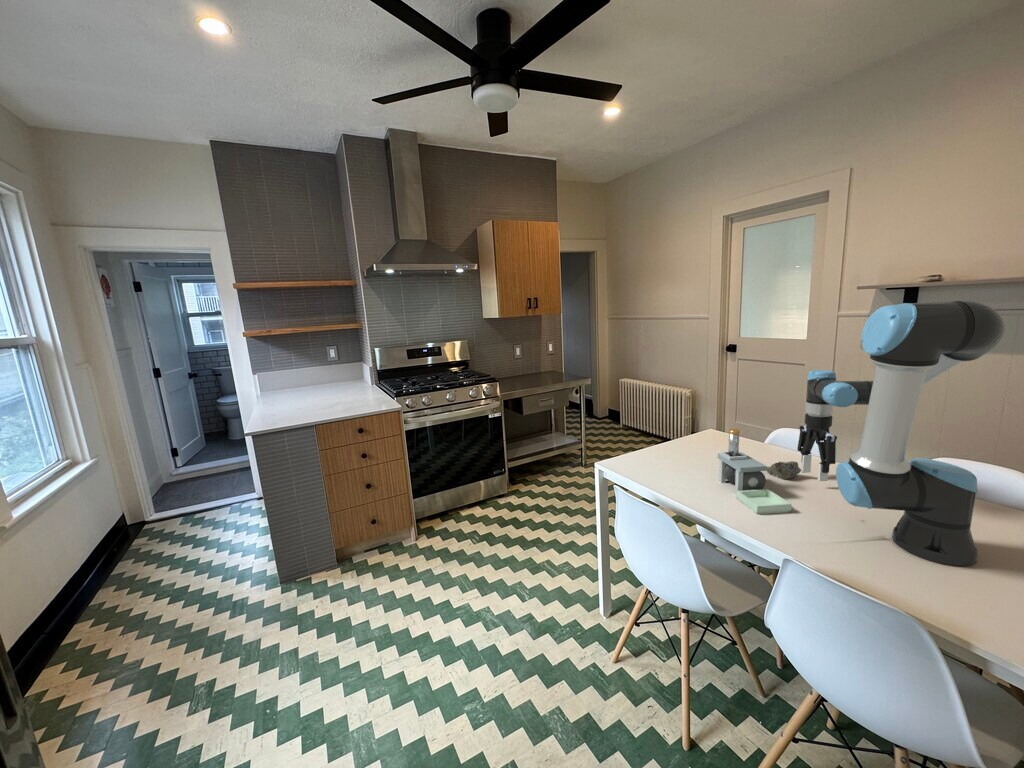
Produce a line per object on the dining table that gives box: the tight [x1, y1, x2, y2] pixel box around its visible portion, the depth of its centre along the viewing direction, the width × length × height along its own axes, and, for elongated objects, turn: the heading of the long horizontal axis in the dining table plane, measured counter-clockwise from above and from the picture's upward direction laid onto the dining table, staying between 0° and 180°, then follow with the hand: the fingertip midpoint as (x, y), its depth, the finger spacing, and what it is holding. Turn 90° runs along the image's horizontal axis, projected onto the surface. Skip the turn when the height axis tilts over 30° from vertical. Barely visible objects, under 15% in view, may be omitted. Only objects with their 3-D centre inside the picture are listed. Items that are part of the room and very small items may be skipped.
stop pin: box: [727, 428, 741, 457], centre depth 139 cm, size 3×3×10 cm
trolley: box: [717, 451, 768, 495], centre depth 138 cm, size 14×10×12 cm
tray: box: [735, 488, 792, 515], centre depth 125 cm, size 11×11×3 cm
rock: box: [766, 460, 802, 480], centre depth 144 cm, size 11×6×10 cm
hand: (813, 476), depth 138 cm, fingers open, 7 cm apart
